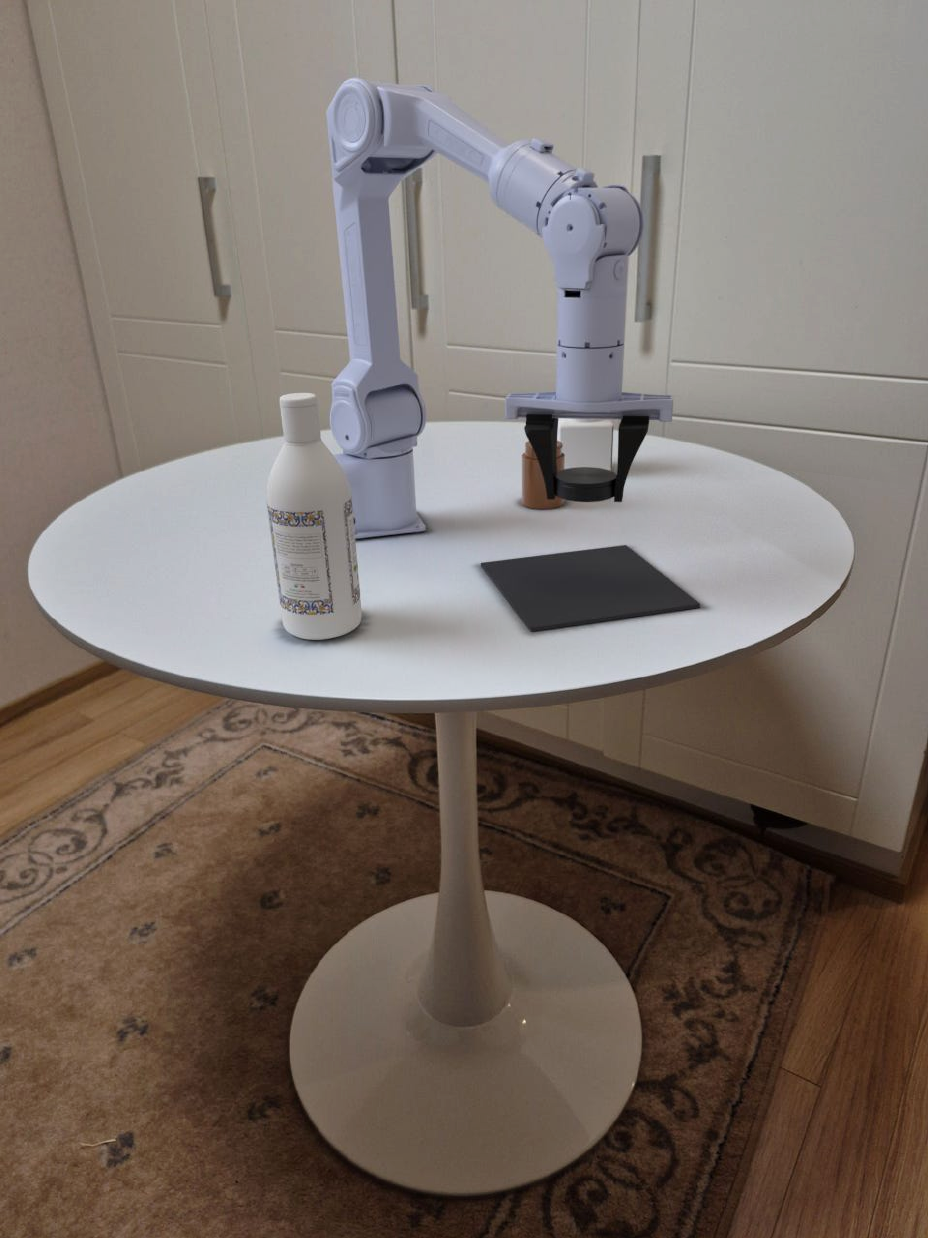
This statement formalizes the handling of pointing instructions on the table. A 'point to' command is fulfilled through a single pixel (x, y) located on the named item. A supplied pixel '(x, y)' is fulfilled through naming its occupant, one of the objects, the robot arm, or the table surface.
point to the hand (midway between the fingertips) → (585, 497)
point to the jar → (538, 479)
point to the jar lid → (585, 484)
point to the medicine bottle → (586, 442)
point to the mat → (585, 587)
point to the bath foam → (312, 529)
